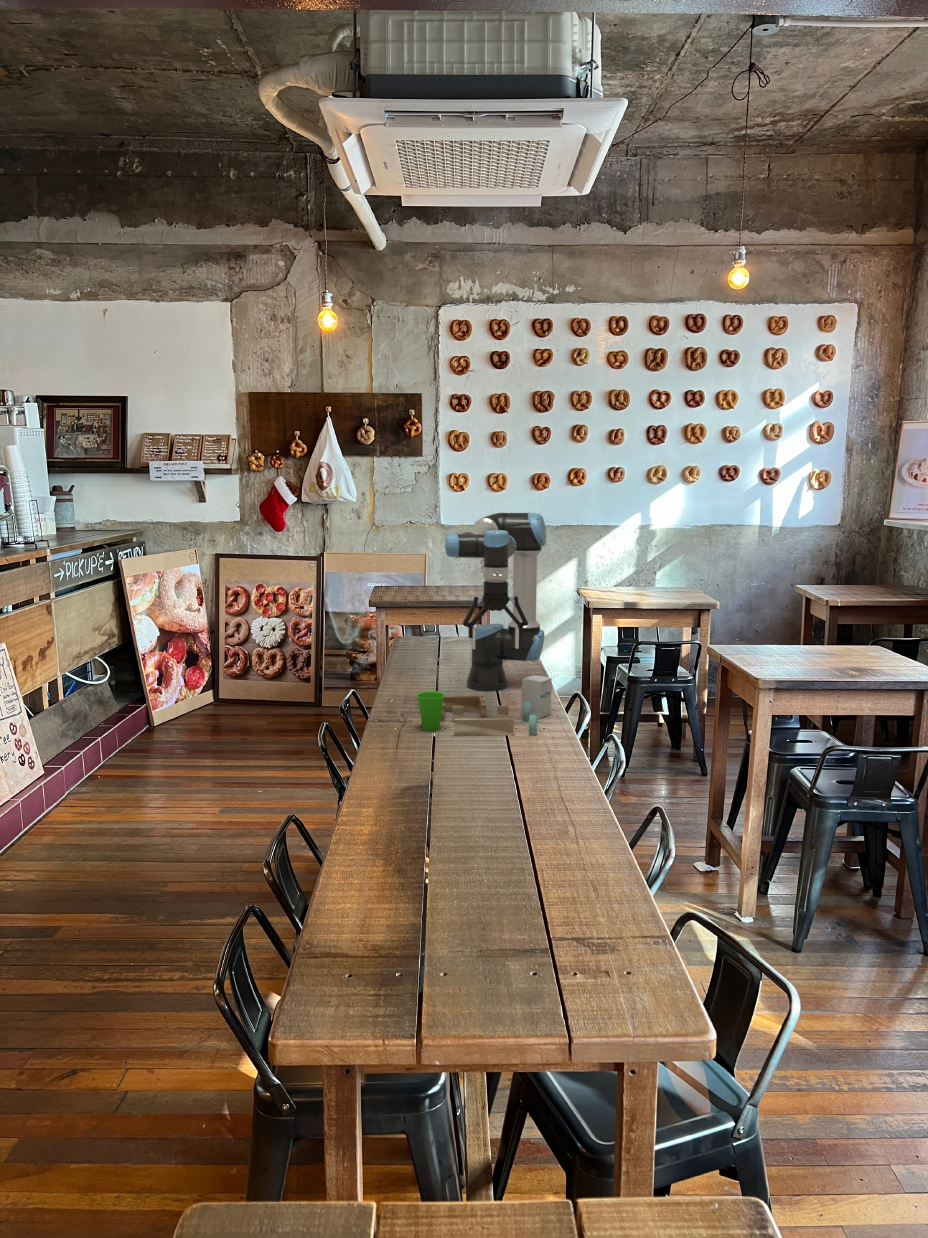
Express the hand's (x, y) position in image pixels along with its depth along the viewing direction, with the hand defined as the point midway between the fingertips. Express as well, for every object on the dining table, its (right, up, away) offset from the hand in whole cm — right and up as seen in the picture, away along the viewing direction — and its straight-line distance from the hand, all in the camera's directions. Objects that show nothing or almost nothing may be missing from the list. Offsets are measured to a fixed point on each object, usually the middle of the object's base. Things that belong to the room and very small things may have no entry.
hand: (495, 648), depth 272 cm
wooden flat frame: (-6, -24, +7) cm, 26 cm away
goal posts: (+11, -25, +2) cm, 27 cm away
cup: (-20, -25, 0) cm, 32 cm away
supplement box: (+14, -23, +16) cm, 31 cm away
